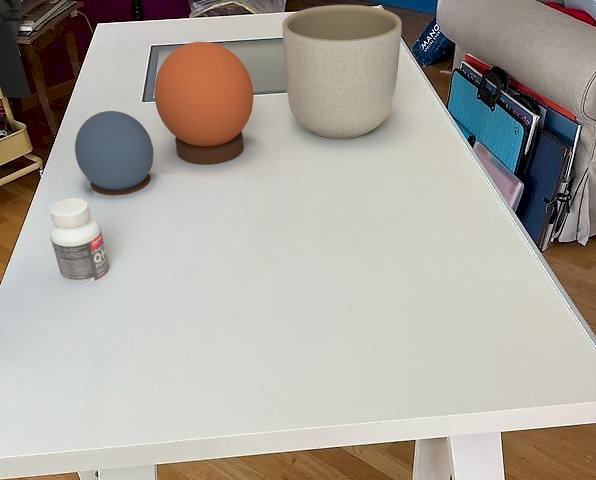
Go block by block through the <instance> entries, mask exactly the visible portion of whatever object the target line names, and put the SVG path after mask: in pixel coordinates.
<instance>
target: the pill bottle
mask: <svg viewBox="0 0 596 480" xmlns="http://www.w3.org/2000/svg"><path fill="white" fill-rule="evenodd" d="M89 206H90V205H89V203H88V202H87V200H85V199H83V198H78V197H69V198H68V197H67V198H63V199H60V200H57V201H55V202H54V203H52V204H51V206H50V208H49V212H50V217H51V221H52V223H53V224H52V225H51V227H50V229H49V238H50V241H51V245H52V248H53V251H54V254H55V257H56V262H57V265H58V268H59V272H60V276H61V278H62V279H63V280H64V281H66V282H68V283H71V284H77V285H78V284H79V285H80V284H89V283H92V282H95V281H97V280H99V279H101V278H103V277H104V276H105V275H106V274H107V273H108V272H109V270H110V263H109V260H108V255H107V251H106V248H105V243H104V239H103V233H102V230H101V226H100V223H99V222H98V221H97V220H96V219H95V218H93V217H92V216H91V211H90V207H89Z"/></svg>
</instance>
